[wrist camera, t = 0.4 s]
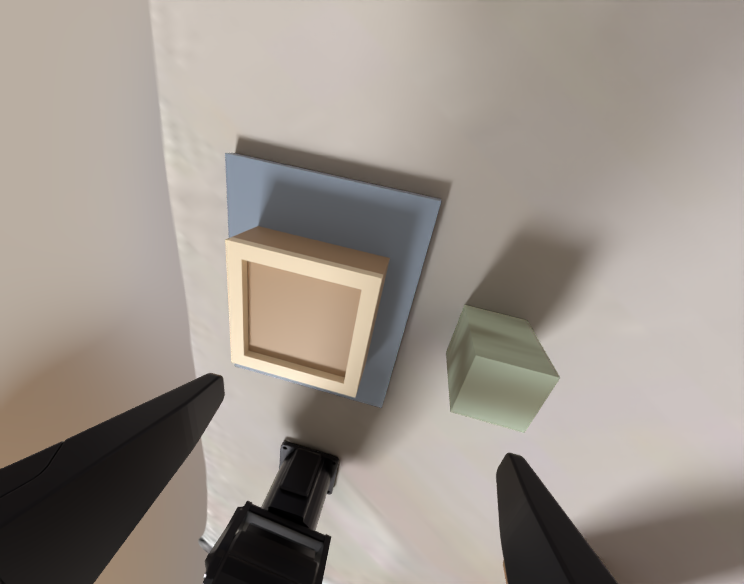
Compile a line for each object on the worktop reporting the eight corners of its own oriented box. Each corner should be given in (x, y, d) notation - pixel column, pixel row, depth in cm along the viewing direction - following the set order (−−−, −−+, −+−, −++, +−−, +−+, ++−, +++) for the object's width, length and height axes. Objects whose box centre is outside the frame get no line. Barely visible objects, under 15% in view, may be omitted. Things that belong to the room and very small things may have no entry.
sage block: (502, 367, 23) (524, 432, 17) (446, 352, 23) (450, 411, 18) (526, 320, 21) (560, 377, 15) (464, 304, 21) (475, 355, 16)
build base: (383, 399, 26) (374, 444, 22) (241, 359, 27) (207, 394, 23) (440, 198, 18) (443, 211, 14) (234, 153, 19) (181, 152, 15)
